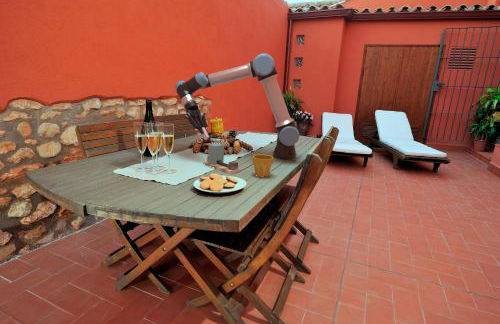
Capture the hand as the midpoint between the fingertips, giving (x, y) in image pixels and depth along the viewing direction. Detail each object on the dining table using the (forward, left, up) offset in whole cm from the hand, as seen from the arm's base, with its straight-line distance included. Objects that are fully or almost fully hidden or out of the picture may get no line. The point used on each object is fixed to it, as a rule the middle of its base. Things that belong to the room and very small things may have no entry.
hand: (206, 138), depth 156 cm
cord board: (-12, +5, -14) cm, 19 cm away
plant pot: (-35, +7, -14) cm, 38 cm away
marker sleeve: (-7, +3, -12) cm, 14 cm away
